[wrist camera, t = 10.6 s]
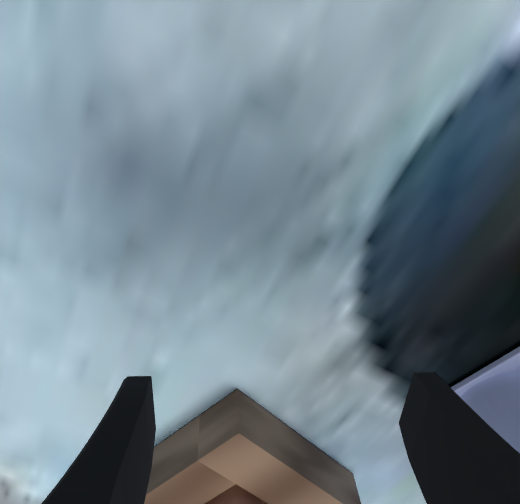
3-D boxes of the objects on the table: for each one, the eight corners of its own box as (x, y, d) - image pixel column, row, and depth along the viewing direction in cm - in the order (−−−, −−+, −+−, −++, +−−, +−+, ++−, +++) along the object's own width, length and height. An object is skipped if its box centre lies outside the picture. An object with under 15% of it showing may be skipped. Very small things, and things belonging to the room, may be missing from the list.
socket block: (352, 474, 31) (365, 518, 28) (229, 544, 34) (229, 590, 32) (237, 388, 26) (238, 433, 24) (106, 480, 29) (95, 528, 27)
